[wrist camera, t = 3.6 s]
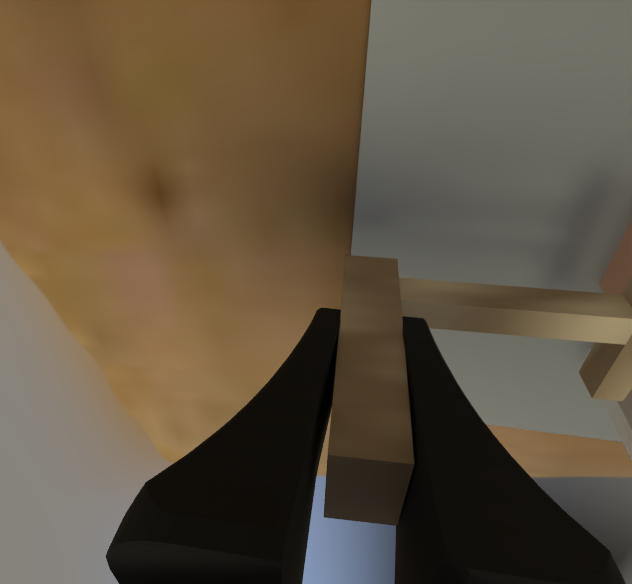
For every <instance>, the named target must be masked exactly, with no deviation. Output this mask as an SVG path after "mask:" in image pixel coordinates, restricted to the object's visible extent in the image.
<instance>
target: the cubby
mask: <svg viewBox="0 0 632 584" xmlns="http://www.w3.org/2000/svg"><path fill="white" fill-rule="evenodd" d="M631 220H632V0H372V2H371V14H370V26H369V38H368V51H367V63H366V75H365V87H364V100H363V112H362V124H361V136H360V148H359V161H358V173H357V185H356V197H355V210H354V222H353V234H352V246H351V255H353V256H367V257H380V258H394V259H398V271H399V277H400V278H413V279H426V280H439V281H452V282H465V283H478V284H491V285H504V286H518V287H531V288H544V289H557V290H570V291H583V292H596V293H604V291H603V290H602V288H601V287H600V285H599V283H600V281H601V279H602V277H603V275H604V273H605V271H606V269H607V267H608V265H609V263H610V261H611V259H612V257H613V256H614V254H615V252H616V250H617V248H618V246H619V244H620V242H621V240H622V238H623V236H624V234H625V232H626V230H627V228H628V226H629V224H630V222H631ZM429 329H430V331H431V334H432V336H433V338H434V340H435V342H436V344H437V346H438V348H439V350H440V352H441V354H442V356H443V358H444V360H445V362H446V364H447V365H448V367H449V369H450V371H451V372H452V374H453V376H454V378H455V379H456V381H457V383H458V384H459V386H460V388H461V389H462V391H463V392H464V394H465V395H466V397H467V399H468V400H469V402H470V403H471V405H472V406H473V408H474V409H475V410H476V412H477V413H478V415H479V416H480V417H481V419H482V420H483V422H484V423H485V424H487V425H495V426H503V427H510V428H518V429H526V430H534V431H542V432H549V433H557V434H565V435H573V436H580V437H588V438H596V439H604V440H612V441H619V442H623V444H624V446H625V448H626V450H627V452H628V454H629V456H630V458H631V460H632V389H631V390H630V392H629V393H628V395H627V396H626V398H625V399H624V400H623V401H614V400H603V399H593V398H591V396H590V394H589V392H588V390H587V388H586V386H585V384H584V382H583V380H582V378H581V376H580V374H579V370H580V368H581V367H582V365H583V363H584V361H585V359H586V358H587V356H588V354H589V352H590V351H591V349H592V347H593V345H594V343H595V342H587V341H575V340H563V339H551V338H539V337H527V336H515V335H503V334H491V333H479V332H468V331H456V330H444V329H432V328H429Z"/></svg>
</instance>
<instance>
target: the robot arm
mask: <svg viewBox="0 0 632 584" xmlns="http://www.w3.org/2000/svg"><path fill="white" fill-rule="evenodd" d="M340 316H341V310H339V309H329V308H320V309H318V310H317V311H316V314H315V316H314V318H313V320H312V322H311V324H310V325H309V327H308V329H307V330H306V332H305V334H304V335H303V337H302V338H301V340H300V341H299V343H298V344H297V346H296V347H295V348H294V350H293V351H292V353H291V354H290V355H289V357H288V358H287V359H286V361H285V362H284V363H283V364H282V366H281V367H280V368H279V369H278V371H277V372H276V373H275V374H274V376H273V377H272V378H271V379H270V380H269V381H268V383H267V384H266V385H265V386H264V387H263V388H262V389H261V390H260V391H259V392H258V394H257V395H256V396H255V397H254V398H253V399H252V400H251V401H250V402H249V403H248V404H247V405H246V406H245V407H244V408H242V409H241V410H240V411H239V412H238V413H237V414H236V415H235V416H234V417H233V418H232V419H231V420H230V421H228V422H227V423H226V424H225V425H224V426H223V427H221V428H220V429H219V430H218V431H217V432H215V433H214V434H213V435H212V436H210V437H209V438H208V439H206V440H205V441H204V442H203V443H201V444H200V445H199V446H198V447H196V448H195V449H194V450H192V451H191V452H190V453H188V454H187V455H186V456H184V457H183V458H181V459H180V460H178V461H177V462H175V463H174V464H172V465H171V466H169V467H168V468H166V469H165V470H164V471H162V472H161V473H159V474H158V475H156V476H155V477H153V478H152V479H150V480H149V481H147V482H146V483H145V485H144V486H143V487H142V489H141V490H140V492H139V494H138V495H137V496H136V498H135V499H134V501H133V503H132V504H131V506H130V508H129V509H128V511H127V512H126V514H125V516H124V518H123V520H122V522H121V524H120V526H119V528H118V530H117V532H116V534H115V536H114V538H113V541H112V543H111V545H110V547H109V549H108V552H107V555H106V559H107V561H108V565H109V567H110V570H111V571H112V573H113V575H114V576H115V578H116V579H117V581H118V582H119V584H302V579H303V571H304V564H305V556H306V548H307V540H308V533H309V526H310V518H311V511H312V503H313V496H314V489H315V481H316V476H317V470H318V465H319V460H320V456H321V452H322V447H323V443H324V439H325V434H326V430H327V426H328V421H329V417H330V413H331V408H332V403H333V392H334V381H335V371H336V360H337V349H338V338H339V329H340V322H341V320H340ZM402 320H403V340H404V346H405V356H406V368H407V380H408V392H409V404H410V416H411V428H412V441H413V453H414V468H413V471H412V475H411V478H410V482H409V485H408V489H407V492H406V496H405V499H404V503H403V506H402V510H401V513H400V517H399V521H398V524H397V526H396V553H395V556H396V557H395V584H625V581H624V579H623V577H622V575H621V573H620V571H619V569H618V567H617V565H616V563H615V561H614V559H613V557H612V555H611V553H610V551H609V550H608V549H607V548H606V547H605V546H604V545H602V544H601V543H600V542H599V541H598V540H597V539H596V538H594V537H593V536H592V535H591V534H590V533H589V532H588V531H587V530H585V529H584V528H583V527H582V526H581V525H580V524H579V523H577V522H576V521H575V520H574V519H573V518H571V516H569V515H568V514H567V513H566V512H565V511H564V510H563V509H562V508H561V507H560V506H559V505H558V504H557V503H556V502H554V501H553V500H552V499H551V498H550V497H549V496H548V495H547V494H546V493H545V492H544V491H543V490H542V489H541V488H540V487H539V486H538V485H537V483H536V482H535V481H534V480H533V479H532V478H531V477H530V476H529V475H528V474H527V473H526V472H525V470H524V469H523V468H522V467H521V466H520V465H519V464H518V463H517V462H516V461H515V460H514V459H513V457H512V456H511V455H510V454H509V453H508V452H507V450H506V449H505V448H504V447H503V446H502V444H501V443H500V442H499V441H498V440H497V438H496V437H495V436H494V435H493V433H492V432H491V431H490V429H489V428H488V427H487V426H486V424H485V423H484V422H483V420H482V419H481V417H480V416H479V415H478V413H477V412H476V410H475V409H474V408H473V406H472V405H471V403H470V402H469V400H468V399H467V397H466V395H465V394H464V392H463V391H462V389H461V388H460V386H459V384H458V383H457V381H456V379H455V378H454V376H453V374H452V372H451V371H450V369H449V367H448V365H447V364H446V362H445V360H444V358H443V356H442V354H441V352H440V350H439V348H438V346H437V344H436V342H435V340H434V338H433V336H432V334H431V331H430V329H429V326H428V324H427V322H426V321H425V319H424V318H416V317H406V316H402Z"/></svg>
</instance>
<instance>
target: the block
mask: <svg viewBox="0 0 632 584" xmlns="http://www.w3.org/2000/svg"><path fill="white" fill-rule="evenodd" d="M631 278H632V220H631V222H630V224H629V226H628V228H627V230H626V232H625V234H624V236H623V238H622V240H621V242H620V244H619V246H618V248H617V250H616V252H615V254H614V256H613V257H612V259H611V261H610V263H609V265H608V267H607V269H606V271H605V273H604V275H603V277H602V279H601V281H600V283H599V285H600V287H601V288H602V290H603V291H604V293H609V294H623V292H624V290H625V288H626V287H627V285H628V283H629V281H630V279H631Z"/></svg>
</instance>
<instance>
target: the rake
mask: <svg viewBox="0 0 632 584" xmlns="http://www.w3.org/2000/svg"><path fill="white" fill-rule="evenodd" d="M402 316H406V317H416V318H424V319H425V321H426V322H427V324H428V326H429V328H432V329H444V330H456V331H468V332H479V333H491V334H503V335H515V336H527V337H539V338H551V339H563V340H575V341H587V342H595V343H594V345H593V347H592V349H591V351H590V352H589V354H588V356H587V358H586V359H585V361H584V363H583V365H582V367H581V368H580V370H579V374H580V376H581V378H582V380H583V382H584V384H585V386H586V388H587V390H588V392H589V394H590V396H591V398H593V399H603V400H614V401H623V400H624V399H625V398H626V396H627V395H628V393H629V392H630V390H631V389H632V278H631V279H630V281H629V283H628V285H627V287H626V288H625V290H624V292H623V294H609V293H596V292H583V291H570V290H557V289H544V288H531V287H518V286H504V285H491V284H478V283H465V282H452V281H439V280H426V279H413V278H400V277H399V271H398V259H394V258H380V257H367V256H353V255H346V262H345V273H344V284H343V294H342V305H341V316H340V320H341V322H340V329H339V338H338V349H337V360H336V371H335V381H334V392H333V403H332V414H331V425H330V436H329V447H328V459H327V474H326V489H325V505H324V517H327V518H335V519H344V520H352V521H362V522H370V523H379V524H387V525H396V526H397V524H398V521H399V517H400V513H401V510H402V506H403V503H404V499H405V496H406V492H407V489H408V485H409V482H410V478H411V475H412V471H413V468H414V453H413V441H412V428H411V416H410V404H409V392H408V380H407V368H406V356H405V346H404V340H403V320H402Z"/></svg>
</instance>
